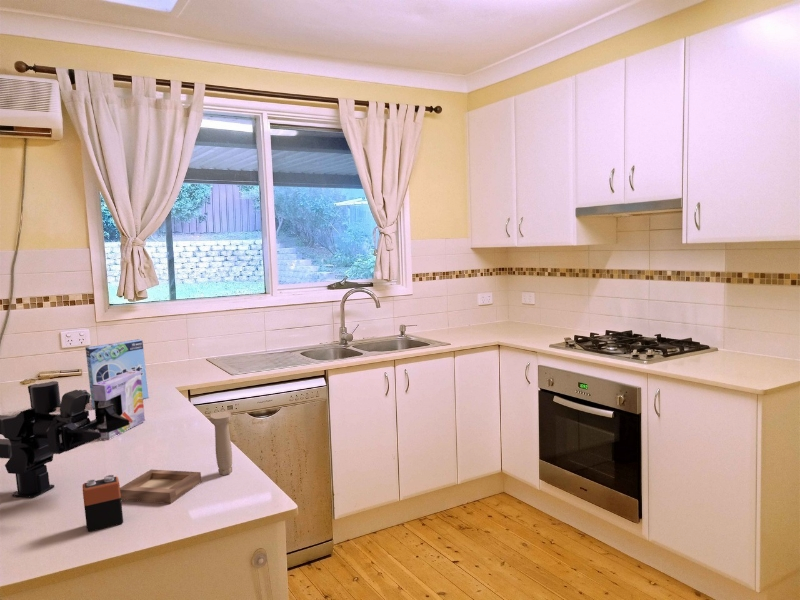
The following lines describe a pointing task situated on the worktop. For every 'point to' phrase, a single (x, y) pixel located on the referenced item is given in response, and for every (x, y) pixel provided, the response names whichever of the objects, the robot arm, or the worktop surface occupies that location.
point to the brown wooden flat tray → (160, 486)
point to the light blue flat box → (116, 362)
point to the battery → (102, 503)
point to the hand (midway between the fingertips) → (115, 428)
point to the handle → (222, 441)
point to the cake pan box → (121, 399)
